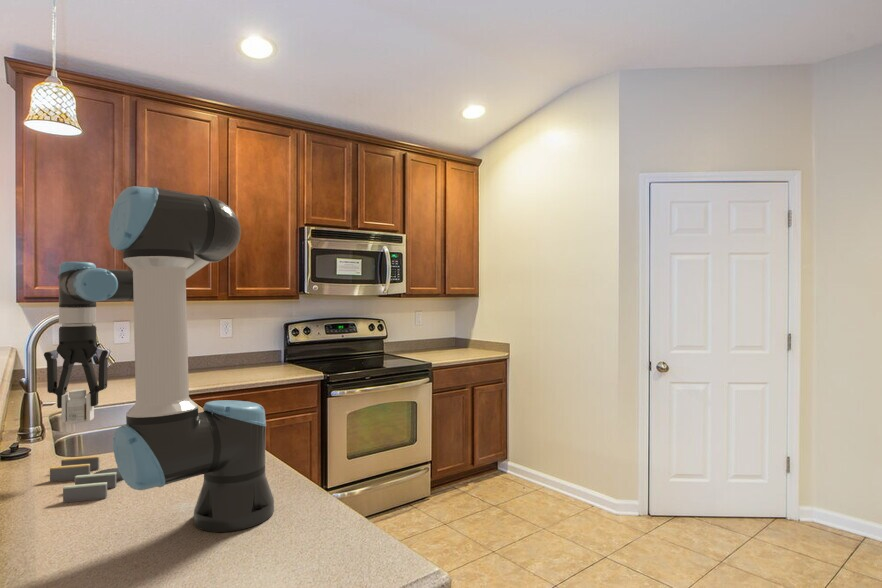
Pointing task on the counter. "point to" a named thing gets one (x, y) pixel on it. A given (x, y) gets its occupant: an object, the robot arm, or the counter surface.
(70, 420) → the pill bottle
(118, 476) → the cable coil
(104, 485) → the slot sage
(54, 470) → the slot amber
